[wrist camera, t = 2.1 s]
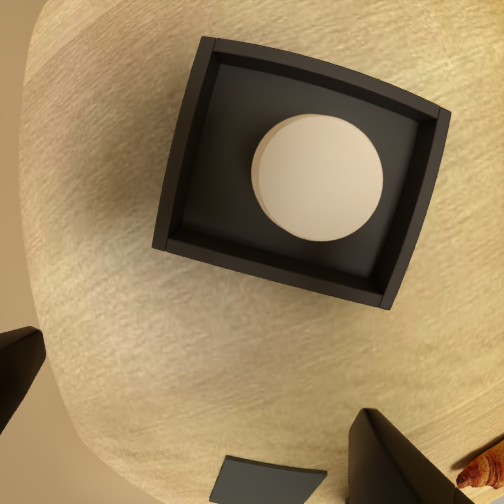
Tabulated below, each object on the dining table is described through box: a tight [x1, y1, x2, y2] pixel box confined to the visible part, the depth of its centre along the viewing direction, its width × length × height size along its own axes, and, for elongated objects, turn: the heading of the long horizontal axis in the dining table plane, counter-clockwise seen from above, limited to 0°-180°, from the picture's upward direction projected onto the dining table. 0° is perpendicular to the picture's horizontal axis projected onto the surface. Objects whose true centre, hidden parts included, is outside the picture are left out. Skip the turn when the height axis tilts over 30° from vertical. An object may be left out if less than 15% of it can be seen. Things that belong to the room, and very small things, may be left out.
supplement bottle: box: [251, 114, 383, 241], centre depth 13 cm, size 5×5×8 cm
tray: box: [152, 36, 451, 310], centre depth 17 cm, size 14×12×3 cm
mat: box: [209, 456, 327, 504], centre depth 27 cm, size 10×10×1 cm
